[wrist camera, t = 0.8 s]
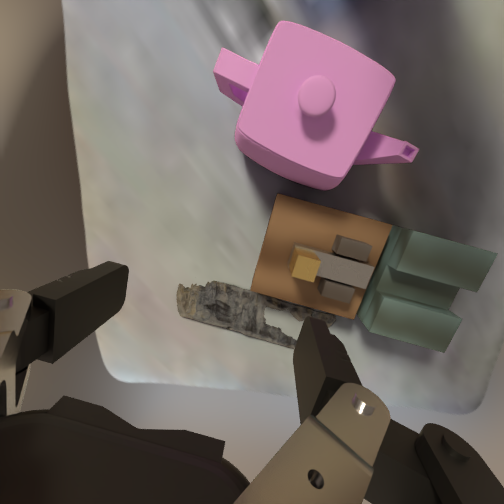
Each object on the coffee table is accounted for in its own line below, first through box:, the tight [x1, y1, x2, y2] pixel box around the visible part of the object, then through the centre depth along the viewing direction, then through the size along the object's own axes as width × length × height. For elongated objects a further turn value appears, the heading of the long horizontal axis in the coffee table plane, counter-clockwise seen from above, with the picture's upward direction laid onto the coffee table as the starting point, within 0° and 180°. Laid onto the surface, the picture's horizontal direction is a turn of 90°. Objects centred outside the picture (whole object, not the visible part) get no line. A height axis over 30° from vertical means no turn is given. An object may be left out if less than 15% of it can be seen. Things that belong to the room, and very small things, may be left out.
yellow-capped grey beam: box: [287, 242, 375, 289], centre depth 23 cm, size 2×8×5 cm, turn 75°
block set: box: [250, 193, 498, 353], centre depth 27 cm, size 11×21×6 cm, turn 75°
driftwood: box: [177, 281, 336, 349], centre depth 32 cm, size 21×7×2 cm, turn 73°
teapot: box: [213, 21, 419, 190], centre depth 22 cm, size 18×10×10 cm, turn 65°
